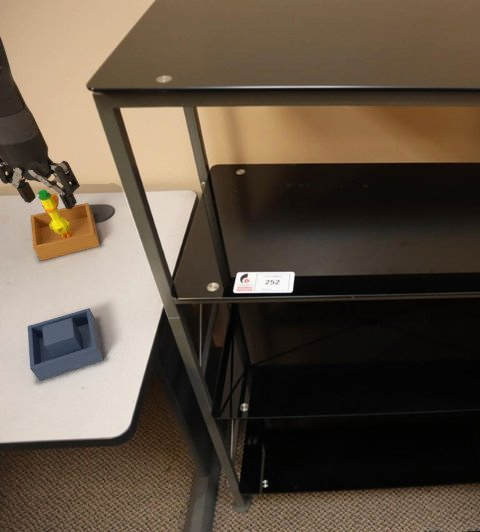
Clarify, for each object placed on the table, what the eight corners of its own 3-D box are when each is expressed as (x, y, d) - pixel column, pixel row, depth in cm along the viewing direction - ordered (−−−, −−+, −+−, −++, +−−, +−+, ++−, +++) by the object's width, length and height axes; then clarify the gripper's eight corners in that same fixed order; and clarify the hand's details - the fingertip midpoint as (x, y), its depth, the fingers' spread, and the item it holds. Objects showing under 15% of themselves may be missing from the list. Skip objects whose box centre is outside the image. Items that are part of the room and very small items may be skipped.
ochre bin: (37, 228, 109) (30, 215, 107) (93, 215, 113) (87, 202, 111) (40, 260, 103) (33, 247, 100) (100, 245, 107) (94, 233, 104)
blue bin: (36, 338, 90) (27, 326, 87) (96, 320, 94) (89, 307, 91) (39, 381, 84) (30, 369, 82) (103, 360, 88) (96, 347, 85)
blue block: (52, 342, 89) (42, 326, 86) (80, 333, 91) (71, 317, 88) (55, 361, 86) (44, 345, 83) (83, 351, 88) (74, 336, 85)
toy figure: (59, 226, 109) (35, 180, 101) (78, 223, 110) (56, 178, 102) (55, 247, 105) (30, 201, 96) (75, 244, 106) (51, 198, 97)
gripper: (65, 126, 93) (96, 198, 104) (-9, 115, 93) (29, 187, 105) (38, 148, 87) (73, 221, 99) (-40, 136, 88) (4, 209, 99)
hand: (51, 203), depth 102 cm, fingers open, 8 cm apart
